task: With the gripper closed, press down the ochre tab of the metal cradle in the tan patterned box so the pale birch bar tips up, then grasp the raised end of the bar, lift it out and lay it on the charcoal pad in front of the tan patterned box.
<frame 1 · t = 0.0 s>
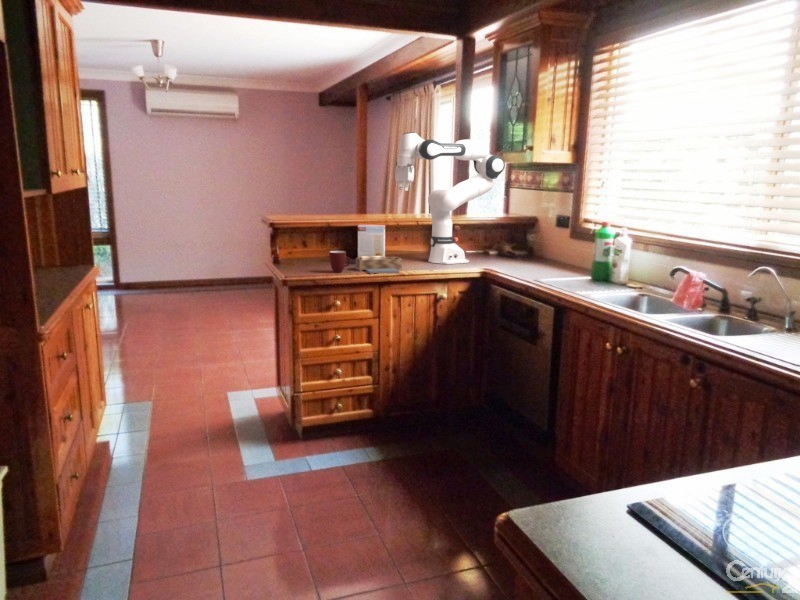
hand: (402, 190, 325), 39 cm above the counter, tool pointing down, fingers open, 8 cm apart
mug: (340, 272, 301), on the counter
cracker box: (371, 264, 328), on the counter
birch bar: (371, 261, 310), point 4 cm above the counter, touching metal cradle
tan patterned box: (378, 269, 312), on the counter
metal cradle: (378, 261, 311), point 4 cm above the counter, hinge at 0.0°, touching birch bar, tan patterned box
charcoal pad: (382, 272, 303), on the counter
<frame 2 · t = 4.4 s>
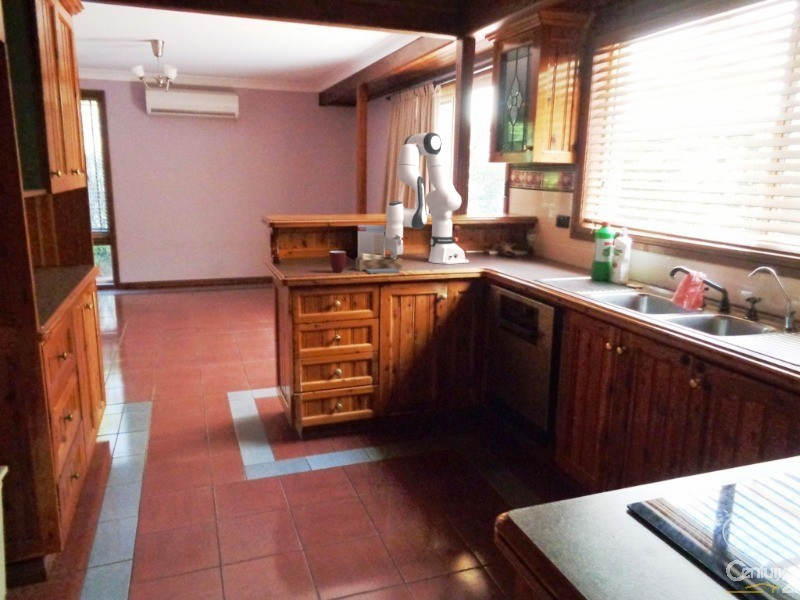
hand: (393, 261, 313), 4 cm above the counter, tool pointing down, fingers closed, pressing on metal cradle
birch bar: (372, 259, 310), point 5 cm above the counter, tilted 7°, touching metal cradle
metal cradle: (379, 260, 311), point 4 cm above the counter, hinge at -6.7°, touching birch bar, gripper
everything else where it was.
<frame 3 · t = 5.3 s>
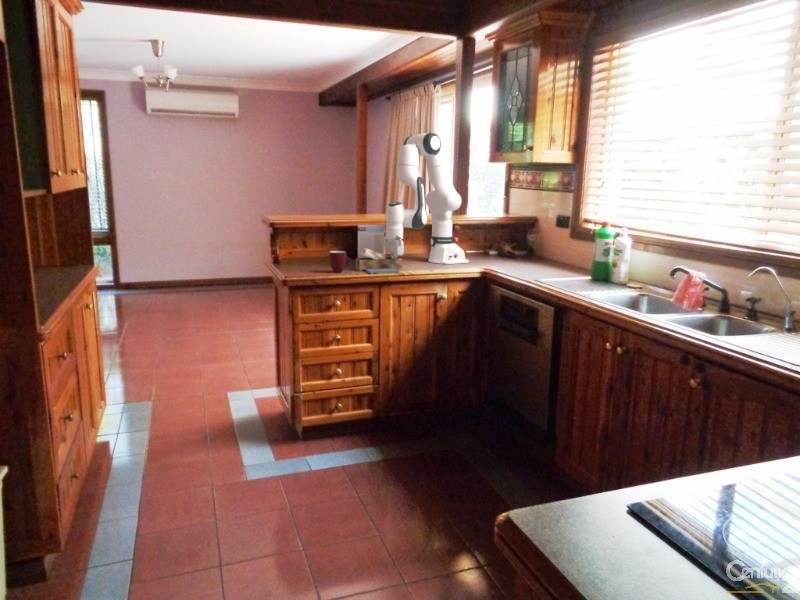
hand: (394, 262, 314), 3 cm above the counter, tool pointing down, fingers closed
birch bar: (373, 256, 309), point 7 cm above the counter, tilted 20°, touching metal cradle
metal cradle: (380, 258, 311), point 5 cm above the counter, hinge at -20.4°, touching birch bar
everything else where it was.
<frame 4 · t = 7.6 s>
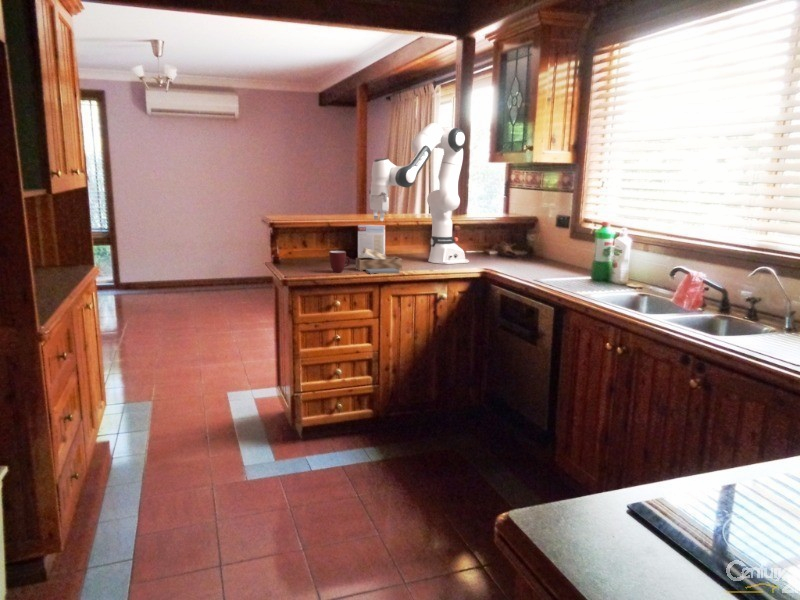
hand: (378, 220, 306), 25 cm above the counter, tool pointing down, fingers open, 8 cm apart
nothing on the counter moved.
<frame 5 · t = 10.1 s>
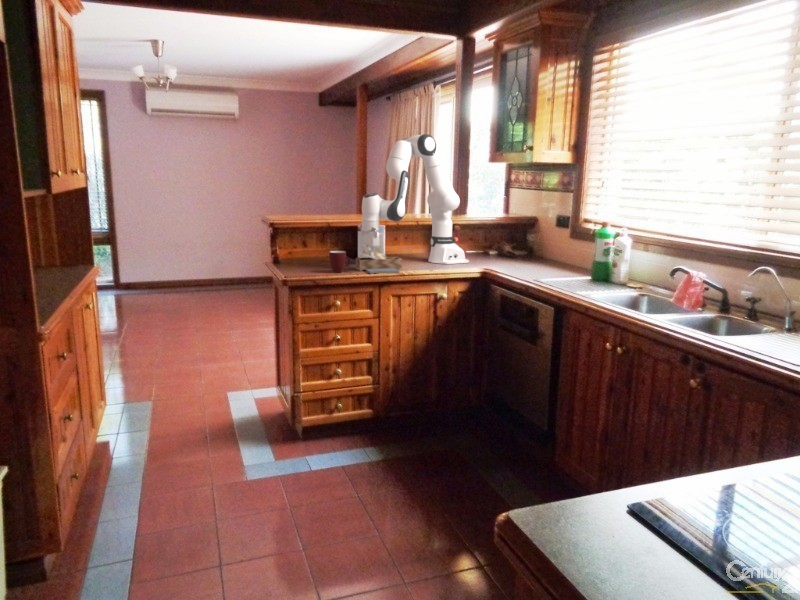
hand: (370, 254, 309), 8 cm above the counter, tool pointing down, fingers closed on birch bar, 4 cm apart
birch bar: (373, 256, 309), point 7 cm above the counter, tilted 20°, touching gripper, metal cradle
everything else where it was.
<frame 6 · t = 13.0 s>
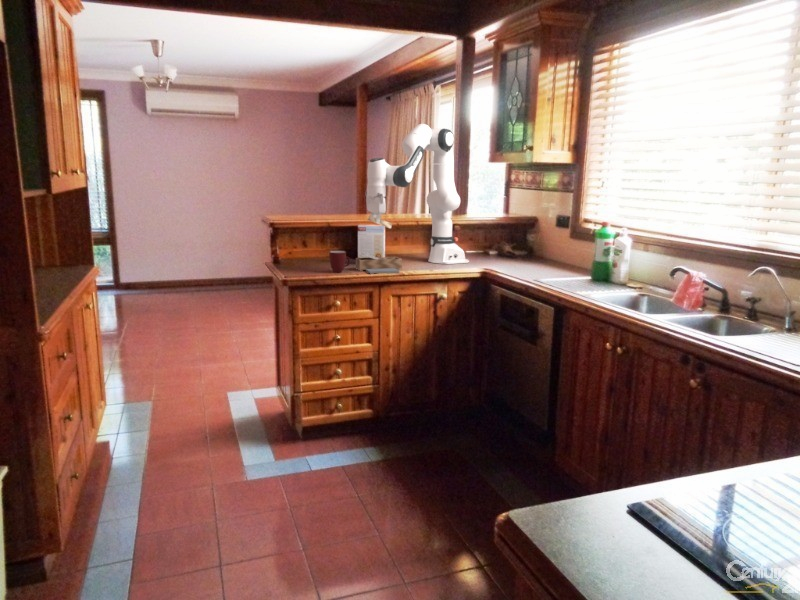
hand: (375, 222, 296), 25 cm above the counter, tool pointing down, fingers closed on birch bar, 4 cm apart
birch bar: (379, 224, 297), point 24 cm above the counter, tilted 20°, touching gripper
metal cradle: (380, 258, 311), point 5 cm above the counter, hinge at -20.3°
everything else where it was.
when the fingers open (4 cm above the counter, at t = 16.0 s): birch bar drops 2 cm, resting on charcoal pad.
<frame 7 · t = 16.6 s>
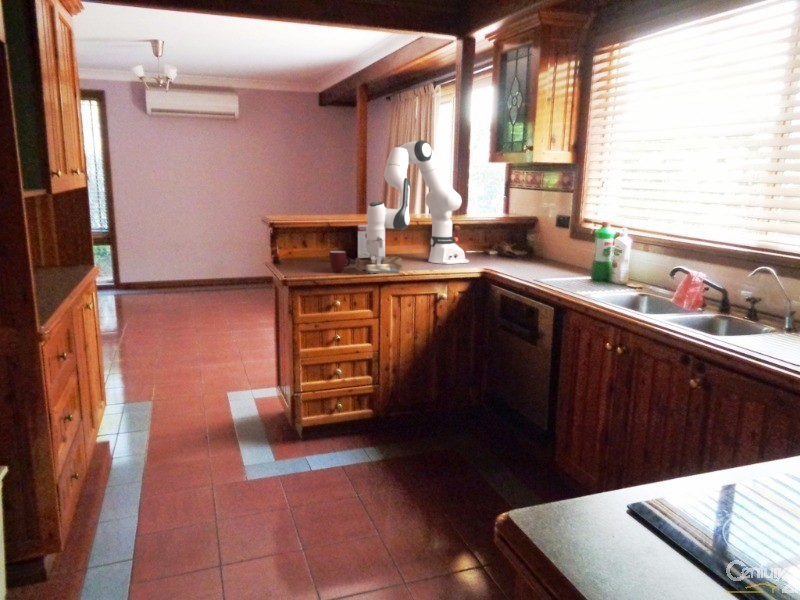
hand: (375, 264, 301), 4 cm above the counter, tool pointing down, fingers open, 8 cm apart
birch bar: (378, 270, 302), point 1 cm above the counter, touching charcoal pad
everything else where it was.
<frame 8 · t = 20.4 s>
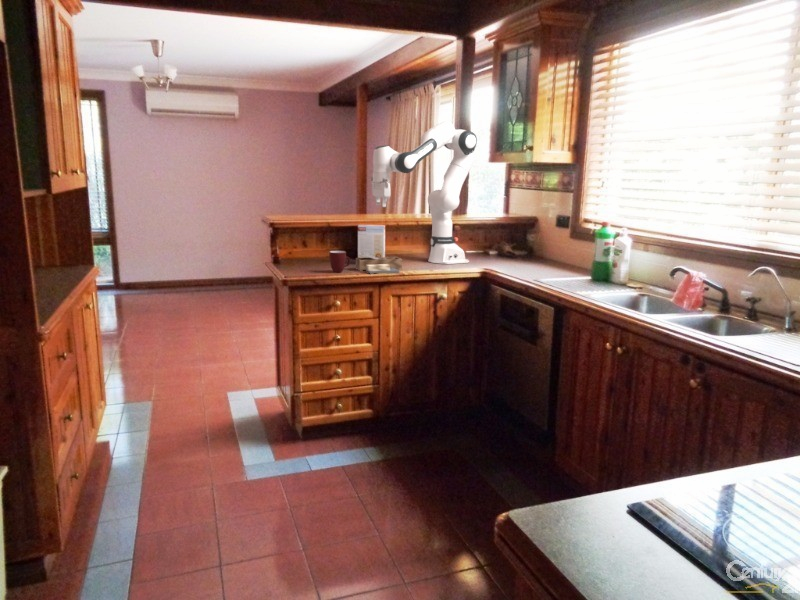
hand: (381, 206, 313), 31 cm above the counter, tool pointing down, fingers open, 8 cm apart
nothing on the counter moved.
at the end: birch bar inside the target area on the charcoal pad (2.2 cm from its centre), point 1.2 cm above the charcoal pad's base; birch bar tilted 0°; the gripper is holding nothing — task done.
